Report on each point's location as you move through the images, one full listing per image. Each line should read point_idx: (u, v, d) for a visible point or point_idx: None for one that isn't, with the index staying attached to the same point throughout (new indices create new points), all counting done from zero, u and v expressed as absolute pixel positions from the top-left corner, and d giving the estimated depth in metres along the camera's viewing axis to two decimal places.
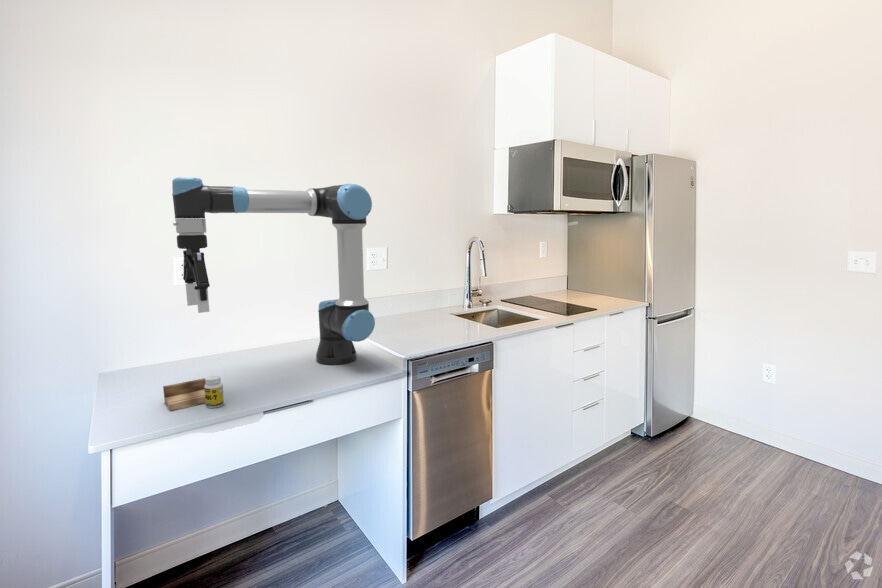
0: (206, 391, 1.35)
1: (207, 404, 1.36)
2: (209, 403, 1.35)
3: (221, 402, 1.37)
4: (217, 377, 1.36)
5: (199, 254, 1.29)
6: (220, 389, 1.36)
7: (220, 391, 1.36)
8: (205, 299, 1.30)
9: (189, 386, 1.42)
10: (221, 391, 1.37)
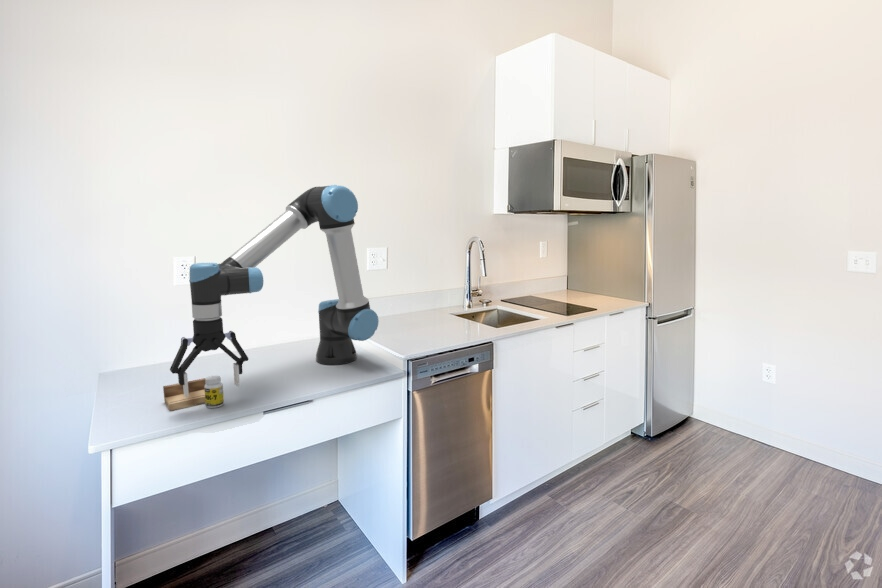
0: (206, 391, 1.35)
1: (207, 404, 1.36)
2: (209, 403, 1.35)
3: (221, 402, 1.37)
4: (217, 377, 1.36)
5: (182, 339, 1.30)
6: (220, 389, 1.36)
7: (220, 391, 1.36)
8: None
9: (189, 386, 1.42)
10: (221, 391, 1.37)
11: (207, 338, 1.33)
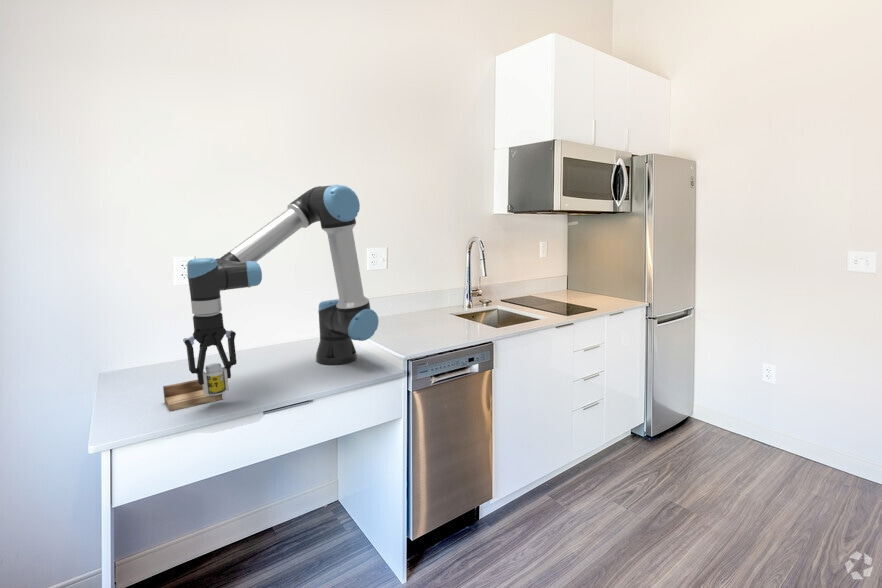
0: (207, 378, 1.35)
1: (208, 392, 1.35)
2: (210, 390, 1.35)
3: (222, 389, 1.37)
4: (217, 365, 1.36)
5: (184, 341, 1.30)
6: (221, 376, 1.36)
7: (221, 378, 1.36)
8: (199, 383, 1.34)
9: (189, 386, 1.42)
10: (222, 378, 1.37)
11: (206, 330, 1.33)
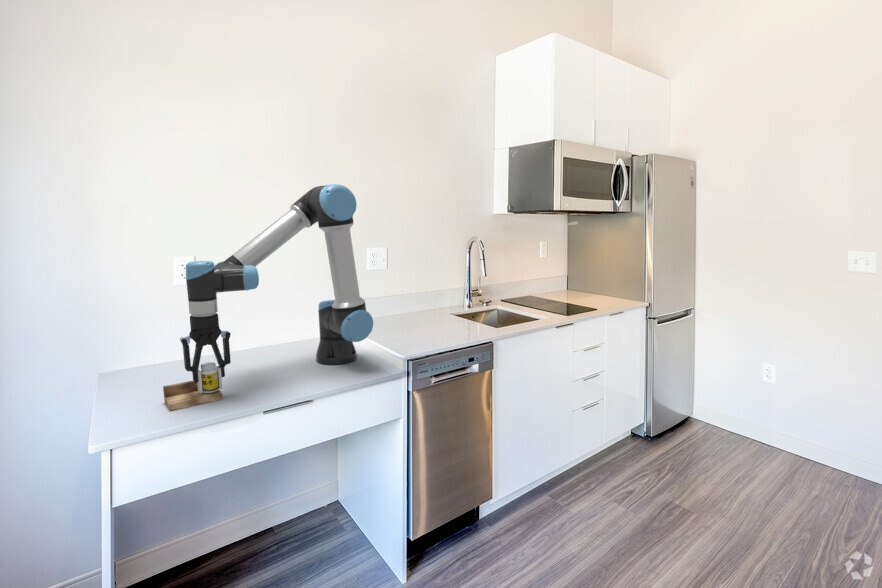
0: (202, 376, 1.40)
1: None
2: (205, 388, 1.40)
3: (216, 387, 1.42)
4: (212, 363, 1.42)
5: (180, 340, 1.36)
6: (215, 375, 1.41)
7: (215, 376, 1.41)
8: (194, 381, 1.39)
9: (189, 386, 1.42)
10: (216, 377, 1.42)
11: (202, 330, 1.38)
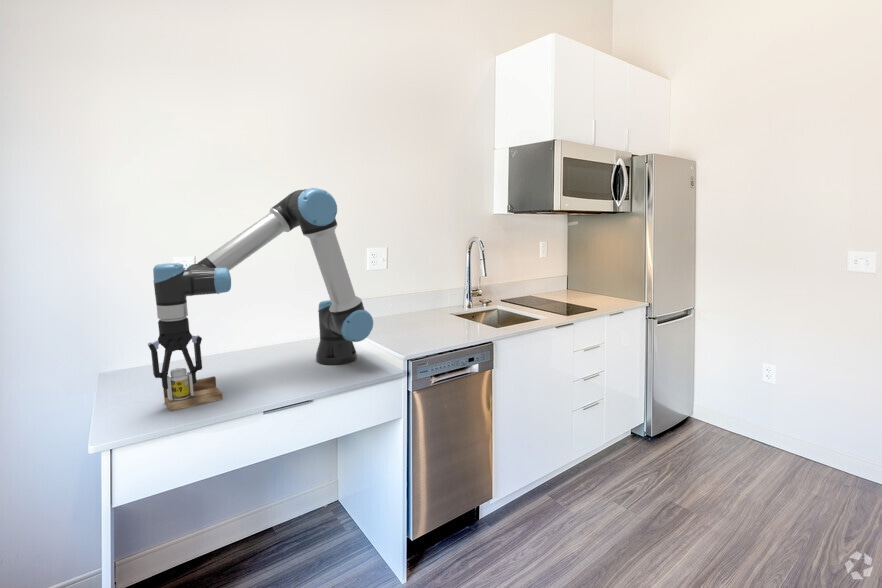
0: (171, 383, 1.35)
1: (172, 396, 1.36)
2: (175, 395, 1.35)
3: (186, 394, 1.37)
4: (182, 369, 1.37)
5: (148, 345, 1.31)
6: (185, 381, 1.36)
7: (185, 383, 1.36)
8: None
9: None
10: (187, 383, 1.37)
11: (171, 335, 1.33)
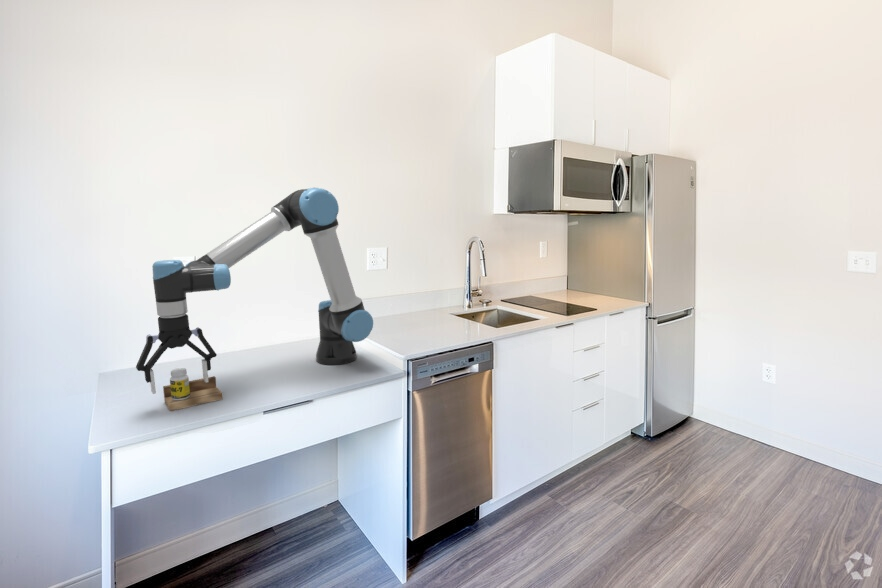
0: (171, 383, 1.35)
1: (172, 396, 1.36)
2: (175, 395, 1.35)
3: (186, 394, 1.37)
4: (182, 370, 1.37)
5: (147, 336, 1.31)
6: (186, 381, 1.37)
7: (185, 383, 1.37)
8: (146, 381, 1.32)
9: (189, 386, 1.42)
10: (187, 383, 1.37)
11: (173, 335, 1.34)
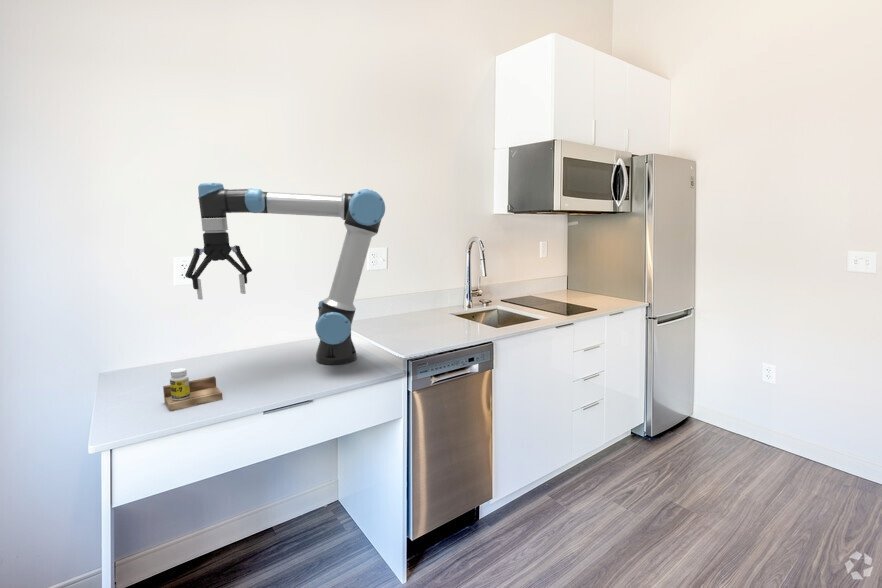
0: (171, 383, 1.35)
1: (172, 396, 1.36)
2: (175, 395, 1.35)
3: (186, 394, 1.37)
4: (182, 370, 1.37)
5: (194, 249, 1.50)
6: (186, 381, 1.37)
7: (185, 383, 1.37)
8: (194, 288, 1.51)
9: (189, 386, 1.42)
10: (187, 383, 1.37)
11: (216, 249, 1.54)
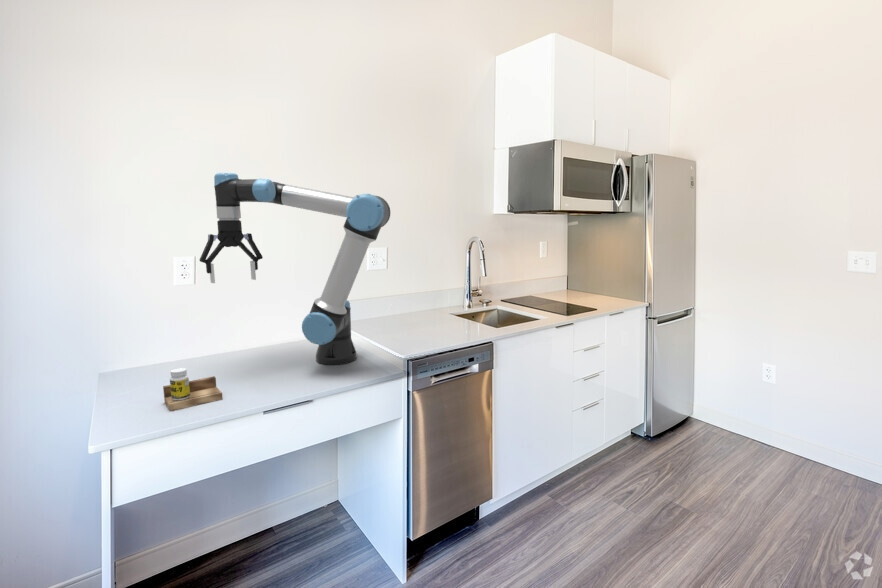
0: (171, 383, 1.35)
1: (172, 396, 1.36)
2: (175, 395, 1.35)
3: (186, 394, 1.37)
4: (182, 370, 1.37)
5: (209, 235, 1.59)
6: (186, 381, 1.37)
7: (185, 383, 1.37)
8: (207, 272, 1.60)
9: (189, 386, 1.42)
10: (187, 383, 1.37)
11: (229, 236, 1.62)
